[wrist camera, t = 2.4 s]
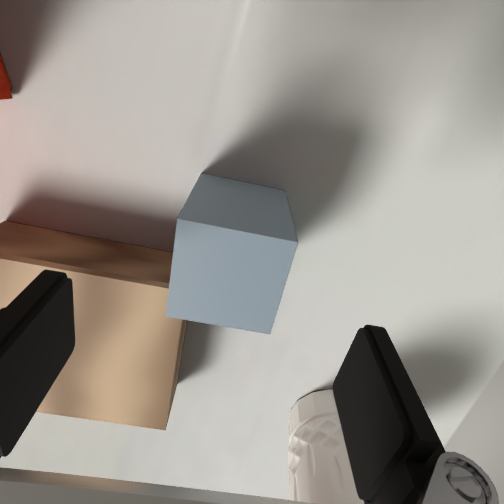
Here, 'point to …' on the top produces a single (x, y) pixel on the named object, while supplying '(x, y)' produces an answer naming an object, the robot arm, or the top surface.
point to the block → (231, 255)
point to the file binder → (4, 83)
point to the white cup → (319, 453)
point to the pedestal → (104, 323)
